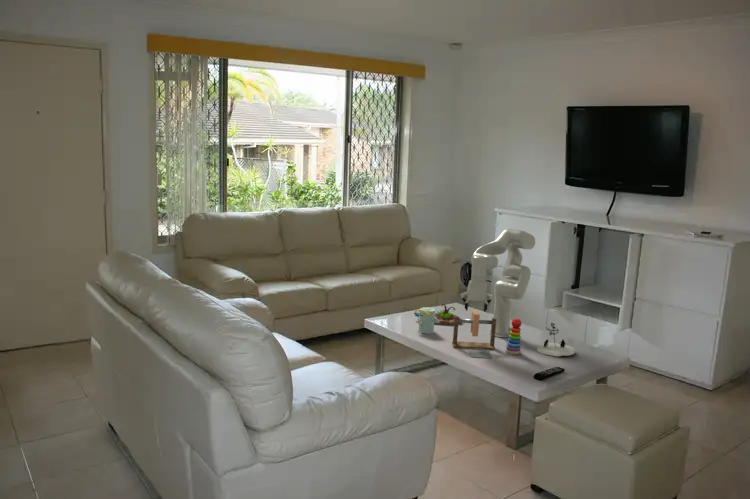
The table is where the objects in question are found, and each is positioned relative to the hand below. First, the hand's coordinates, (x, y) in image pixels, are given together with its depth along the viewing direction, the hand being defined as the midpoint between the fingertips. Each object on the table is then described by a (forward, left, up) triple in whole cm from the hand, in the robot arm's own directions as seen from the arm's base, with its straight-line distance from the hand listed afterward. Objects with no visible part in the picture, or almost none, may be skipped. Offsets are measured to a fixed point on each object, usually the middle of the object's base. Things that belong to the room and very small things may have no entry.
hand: (475, 310), depth 338 cm
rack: (0, 0, -20) cm, 20 cm away
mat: (-2, +12, -20) cm, 23 cm away
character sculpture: (+25, -22, -20) cm, 39 cm away
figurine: (-44, +1, -21) cm, 49 cm away
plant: (+11, -48, -21) cm, 53 cm away
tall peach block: (0, 0, -13) cm, 13 cm away
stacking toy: (-20, +7, -20) cm, 29 cm away
